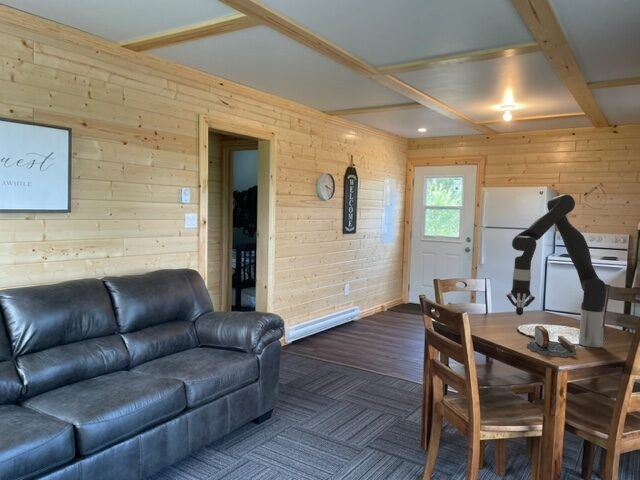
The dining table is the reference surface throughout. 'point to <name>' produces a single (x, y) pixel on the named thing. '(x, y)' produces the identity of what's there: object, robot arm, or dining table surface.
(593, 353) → the dining table surface
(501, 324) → the dining table surface
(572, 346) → the walnut stop strip
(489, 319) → the dining table surface
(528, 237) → the robot arm
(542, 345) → the tin
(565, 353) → the decorative tile
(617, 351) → the dining table surface
